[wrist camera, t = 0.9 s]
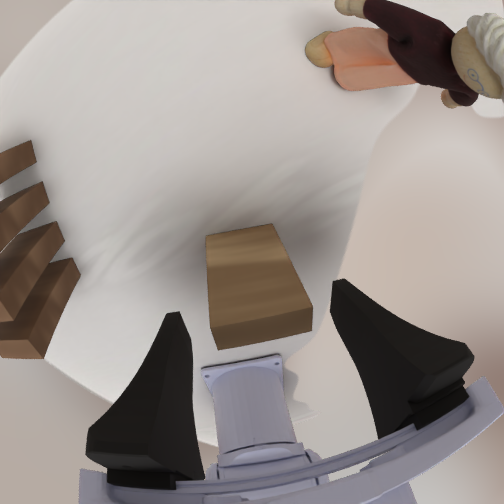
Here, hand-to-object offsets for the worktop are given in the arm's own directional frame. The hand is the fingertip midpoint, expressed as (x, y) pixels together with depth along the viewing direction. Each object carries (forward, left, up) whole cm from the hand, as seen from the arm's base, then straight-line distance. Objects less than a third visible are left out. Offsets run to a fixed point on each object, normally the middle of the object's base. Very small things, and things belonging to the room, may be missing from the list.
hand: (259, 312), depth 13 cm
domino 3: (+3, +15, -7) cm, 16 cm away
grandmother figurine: (+11, -8, -7) cm, 15 cm away
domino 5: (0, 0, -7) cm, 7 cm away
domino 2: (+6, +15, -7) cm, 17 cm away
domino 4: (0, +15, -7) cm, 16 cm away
